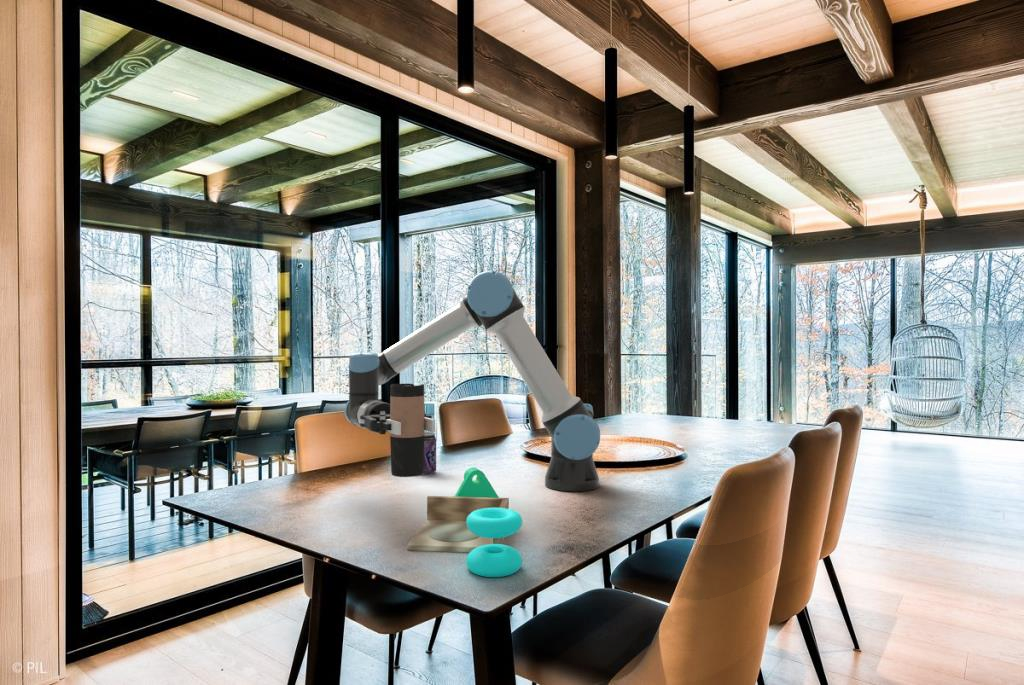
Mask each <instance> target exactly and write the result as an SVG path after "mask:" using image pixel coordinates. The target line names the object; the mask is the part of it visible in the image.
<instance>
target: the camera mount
mask: <svg viewBox="0 0 1024 685" xmlns="http://www.w3.org/2000/svg"><path fill="white" fill-rule="evenodd" d="M475 476H476V478H475V479H474V477H475ZM473 479H474V480H473ZM449 497H486V498H500V497H499V496H498V494H497V492H496V491H495V489H494V487H493V485H492V484H491V483H490V481H489V480H488V478H487V476H486V475H485V473H484V472H483V471H482V470H481V469H478V468H477V467H470V468H467V469H466V470H465V472H464V474H463V481H462V482H461V484H460V485H459V488H458V490H457V491H456V493H455V495H453V496H452V495H451V496H449Z"/></svg>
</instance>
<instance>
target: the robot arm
mask: <svg viewBox="0 0 1024 685" xmlns="http://www.w3.org/2000/svg"><path fill="white" fill-rule="evenodd" d="M525 310H526V308H525V306H524V303H523V302H522V301H521V299H520V297H519V295H518V294H517V292H516V291H515V289H514V287H513V285H512V282H511V281H510V279H509V278H508V276H506V275H505V274H504V273H502V272H499V271H496V270H486V271H483V272H479V273H478V274H476V275H475V276H474V277H473V278H472V279H471V280H470V282H469V283H468V286H467V289H466V294H465V295H464V296H462V297H460V298H459V302H458V304H456V305H455V306H454V307H451V308H450V309H448V310H446V311H445V312H444V313H442V314H440V315H439V316H437V317H436V318H434V319H433V320H432V319H431V321H429V322H428V323H426V324H425V325H423V326H422V327H420V328H419V329H417V330H415V331H413V332H412V333H411V334H409V335H407V336H406V337H404V338H403V339H401V340H400V341H398V342H396V343H395V344H393V345H391V346H389V348H387V349H385V350H383V351H382V352H380V353H378V354H377V353H376V352H354V353H353V352H352V353H351V354H350V355H349V360H348V361H349V362H348V363H349V364H348V367H347V368H348V379H349V380H348V387H349V388H348V390H349V391H348V392H349V393H348V401H347V402H346V404H345V406H344V410H343V411H344V412H343V413H344V417H345V419H346V420H347V421H348V422H349V423H351V424H352V425H353V426H355V427H358V428H362V429H365V430H368V431H370V432H371V433H372V434H373V433H378V434H379V435H386V433H389V434H390V433H392V434H395V435H401V422H398V421H394V420H391V419H390V403H388V402H384V401H382V400H381V401H380V400H379V394H380V393H379V392H380V391H379V389H380V388H379V386H382V385H384V384H386V383H387V382H389V381H390V380H391V379H392V378H394V377H395V376H397V375H399V373H401V372H403V371H405V370H406V369H408V368H409V367H410V366H412V365H414V364H416V363H418V362H419V361H421V360H422V359H424V358H425V357H427V356H428V355H430V354H431V353H433V352H435V351H436V350H439V348H441V347H443V346H444V345H446V344H447V343H450V342H451V341H453V340H454V339H456V338H457V337H459V336H460V335H462V334H463V333H465V332H467V331H468V330H470V329H471V328H475V327H476V328H479V327H482V326H483V327H484V329H485V330H486V332H488V333H492V334H494V335H495V336H496V338H497V339H498V340H499V342H500V344H501V346H502V347H503V349H504V350H505V353H506V354H507V356H508V357H509V359H510V361H511V363H512V364H513V365H514V367H515V369H516V370H517V372H518V374H519V375H520V377H521V379H522V380H523V382H524V384H525V385H526V387H527V388H528V390H529V392H530V394H531V395H532V396H533V399H534V400H535V402H536V403H537V405H538V406H539V408H540V410H541V411H542V418H541V422H542V424H543V426H544V427H545V429H546V431H547V432H548V434H549V435H550V436H549V437H550V439H551V442H550V444H551V445H550V446H551V447H550V448H551V449H550V451H551V454H550V455H551V456H550V459H549V460H550V461H549V464H548V467H547V470H546V472H545V477H544V486H546V487H547V488H548V489H552V490H555V491H562V492H587V491H591V490H592V491H593V490H595V489H598V488H599V487H600V476H599V474H598V471H597V468H596V465H595V461H594V456H593V455H594V453H595V452H596V451H597V449H598V447H599V445H600V443H601V442H600V441H601V430H600V427H599V425H598V423H597V421H595V420H594V409H593V406H592V404H590V403H584V402H583V400H582V399H581V397H579V396H575V395H572V394H571V392H570V391H569V389H568V387H567V386H566V384H565V383H564V381H563V379H562V378H561V376H560V374H559V373H558V371H557V369H556V368H555V366H554V365H553V363H552V361H551V359H550V358H549V357H548V355H547V353H546V351H545V349H544V348H543V346H542V345H541V343H540V342H539V340H538V338H537V337H536V334H534V332H533V330H532V329H531V326H530V325H529V324H528V321H527V320H526V319H525V317H524V313H525ZM424 421H425V431H426V432H429V433H436V419H434V418H433V417H432V415H428V414H427V413H425V412H424Z"/></svg>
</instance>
